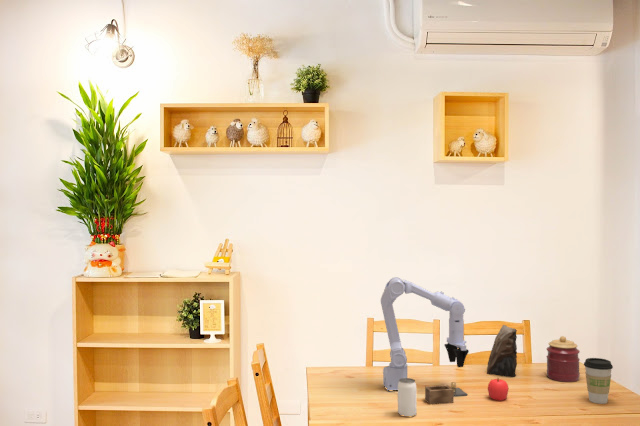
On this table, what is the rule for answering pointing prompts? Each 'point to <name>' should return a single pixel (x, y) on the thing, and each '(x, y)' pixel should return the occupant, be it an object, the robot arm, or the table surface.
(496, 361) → the rock
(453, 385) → the panel
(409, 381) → the can
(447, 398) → the walnut link
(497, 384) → the apple
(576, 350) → the canister
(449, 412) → the table surface
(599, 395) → the coffee cup
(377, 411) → the table surface
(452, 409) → the table surface
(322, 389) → the table surface
